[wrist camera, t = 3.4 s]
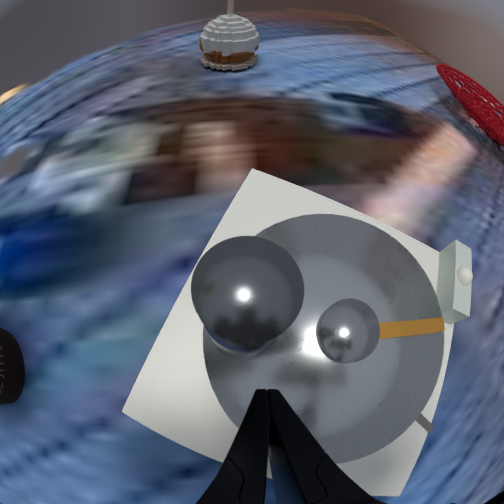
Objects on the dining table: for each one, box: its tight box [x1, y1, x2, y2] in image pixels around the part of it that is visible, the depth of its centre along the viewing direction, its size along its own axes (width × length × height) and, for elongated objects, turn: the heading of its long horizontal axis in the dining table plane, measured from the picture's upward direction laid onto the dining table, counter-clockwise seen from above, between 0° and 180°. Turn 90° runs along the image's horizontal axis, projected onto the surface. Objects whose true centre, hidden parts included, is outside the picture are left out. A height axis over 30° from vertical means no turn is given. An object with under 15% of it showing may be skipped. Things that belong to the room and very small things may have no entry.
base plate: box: [122, 169, 473, 496], centre depth 15 cm, size 20×20×4 cm
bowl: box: [436, 64, 504, 146], centre depth 34 cm, size 30×30×5 cm
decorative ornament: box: [198, 0, 259, 70], centre depth 25 cm, size 8×8×15 cm
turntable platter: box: [191, 214, 445, 464], centre depth 12 cm, size 16×16×10 cm
